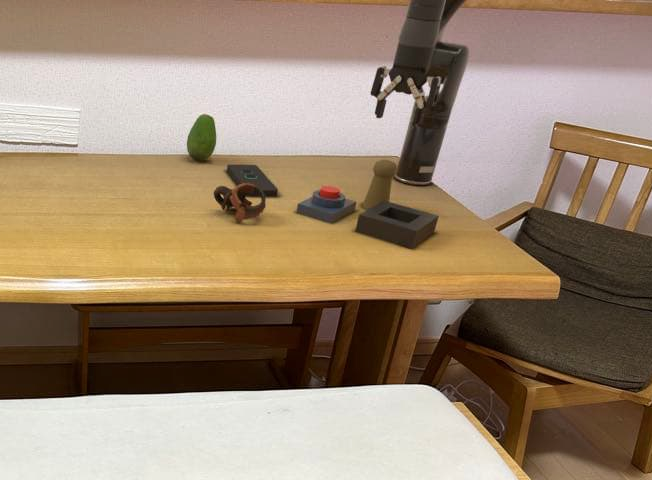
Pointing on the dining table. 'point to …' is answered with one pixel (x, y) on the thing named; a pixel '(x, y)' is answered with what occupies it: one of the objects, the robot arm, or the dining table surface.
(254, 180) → the smart home device
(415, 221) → the socket
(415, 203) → the dining table surface
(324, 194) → the power button
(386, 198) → the cork
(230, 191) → the brown looped knot
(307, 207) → the power block
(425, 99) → the robot arm
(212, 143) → the avocado
